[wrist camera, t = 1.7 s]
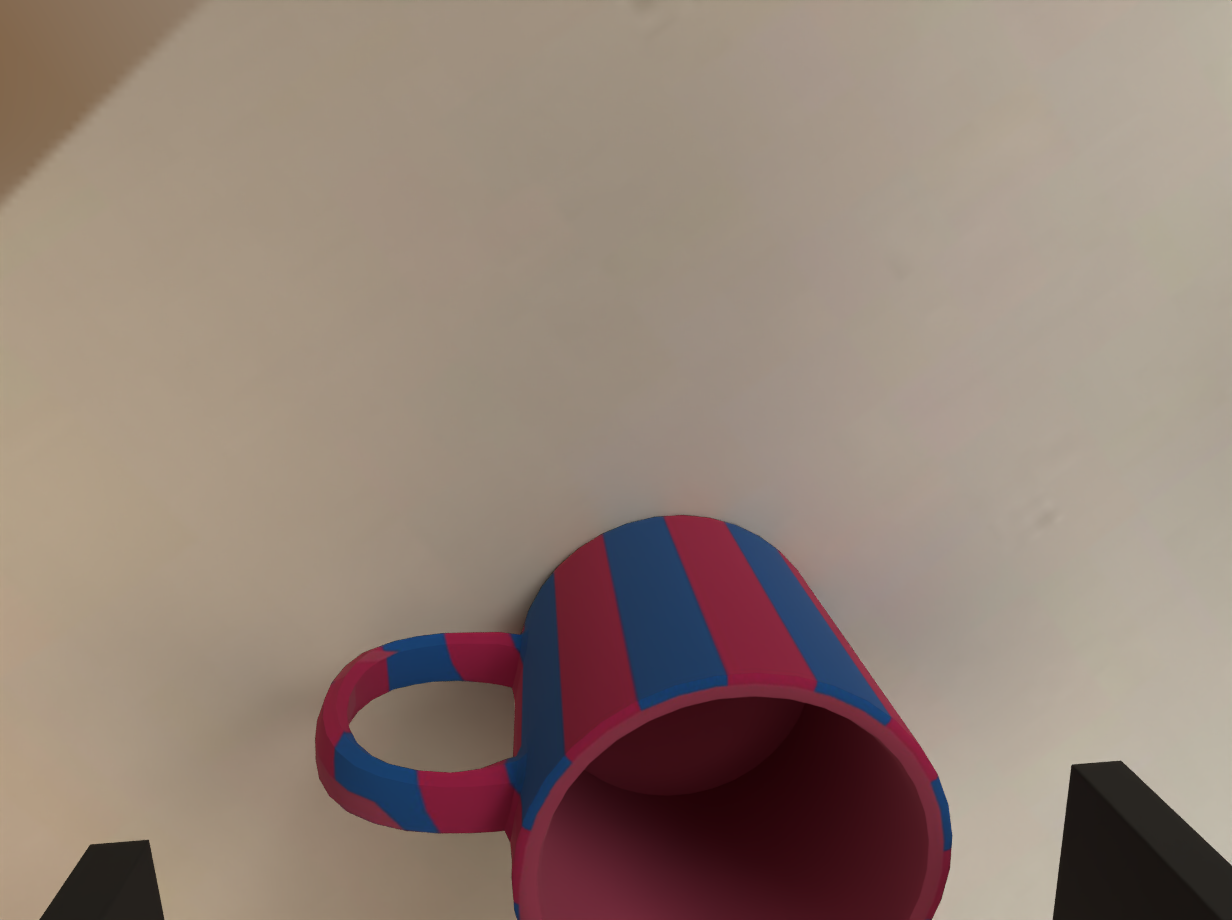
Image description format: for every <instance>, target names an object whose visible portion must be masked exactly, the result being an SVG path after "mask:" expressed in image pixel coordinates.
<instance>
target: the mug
mask: <svg viewBox="0 0 1232 920" xmlns="http://www.w3.org/2000/svg"><path fill="white" fill-rule="evenodd" d="M438 681H469V682H482V683H491V684H497V685H503V686H507V687H511V688H512V690H513V694H514V700H515V718H514V747H513V757H512V758H509V759H505V760H502V761H500V762H497V763H494V764H492V765H489V766H486V767H483V768H481V769H475V770H468V771H462V772H452V773H448V772H433V771H418V770H414V769H409V768H405V767H401V766H396V765H392V764H388V763H386V762H384V761H382V760H380V759H377V758H375V757H373V756H372V755H370V754H369V753H368V752H367V751H366V750H365V749H363V748H362V747H361V746H360V745H359V744H358V743H357V742H356V740H355V738H354V736H353V734H352V732H351V730H350V729H349V724H350V722H351V721H352V719H353V718H354V717H355V715H356V714H357V712H358V711H359V710H361V709H362V708H363V707H364V706H365V705H367V704H368V703H369V702H370V701H371V700H373V699H375V698H377V697H379V696H381V695H383V694H385V693H387V692H389V691H391V690H393V689H397V688H402V687H406V686H410V685H415V684H421V683H428V682H438ZM315 750H316V764H317V769H318V775H319V779H320V781H321V782H322V784H323V786H324V788H325V789H326V791H327V793H328V795H329V796H330V797H331V798H332V799H333V800H334V801H336V802H337V803H338V804H339V805H340V806H341V807H342V808H343V809H345V810H346V811H347V812H349V813H351V814H353V815H356V816H358V817H360V818H363V819H365V820H367V821H369V822H372V823H375V824H378V825H383V826H387V827H391V828H396V829H400V830H405V831H415V832H429V833H481V832H496V831H505V833H506V835H507V837H508V839H509V841H510V844H511V855H512V888H513V900H514V910H515V914H516V917H517V920H932V918H933V916H934V914H935V912H936V910H937V908H938V905H939V903H940V901H941V899H942V895H943V891H944V888H945V884H946V881H947V877H948V873H949V870H950V860H951V847H952V830H951V822H950V814H949V806H948V802H947V800H946V797H945V794H944V791H943V788H942V785H941V783H940V780H939V777H938V774H937V772H936V771H935V769H934V768H933V766H932V764H931V763H930V761H929V759H928V758H927V756H926V754H925V753H924V751H923V750H922V748H921V746H920V745H919V743H918V742H917V741H916V739H915V738H914V736H913V735H912V733H911V732H910V731H909V729H908V728H907V726H906V725H905V723H904V722H903V721H902V719H901V718H900V716H899V715H898V713H897V712H896V711H895V709H894V708H893V706H892V705H891V703H890V702H889V701H888V699H887V698H886V696H885V695H884V693H883V692H882V691H881V689H880V688H879V686H878V685H877V683H876V682H875V681H874V679H873V678H872V676H871V675H870V673H869V672H868V670H867V669H866V668H865V666H864V665H863V663H862V662H861V660H860V659H859V658H858V656H857V655H856V653H855V652H854V650H853V649H852V648H851V646H850V645H849V643H848V642H847V640H846V639H845V638H844V636H843V635H842V633H841V632H840V630H839V629H838V628H837V626H836V625H835V623H834V622H833V620H832V619H831V618H830V616H829V615H828V613H827V612H826V610H825V609H824V608H823V606H822V605H821V603H820V602H819V600H818V599H817V598H816V596H815V595H814V593H813V592H812V590H811V589H810V588H809V586H808V585H807V583H806V582H805V580H804V579H803V578H802V576H801V575H800V573H799V572H798V570H797V569H796V568H795V567H794V566H793V565H792V564H791V563H790V562H789V561H788V560H787V558H786V557H785V556H784V555H783V554H782V553H781V552H780V551H779V550H777V549H776V548H775V547H773V546H772V545H770V544H769V543H768V542H766V541H765V540H764V539H762V538H761V537H760V536H758V535H755V534H753V533H751V532H749V531H747V530H745V529H743V528H741V527H739V526H737V525H734V524H730V523H727V522H723V521H720V520H716V519H712V518H707V517H697V516H687V515H676V516H661V517H652V518H648V519H644V520H639V521H635V522H631V523H627V524H625V525H622V526H620V527H617V528H615V529H613V530H610V531H608V532H605V533H603V534H601V535H599V536H598V537H596V538H594V539H593V540H591V541H590V542H588V543H586V544H585V545H583V546H582V547H580V548H578V549H577V550H576V551H575V552H574V553H573V554H572V555H570V556H569V557H568V558H567V559H566V560H565V561H564V562H563V563H561V564H560V565H559V566H558V567H557V568H556V569H555V571H554V572H553V573H552V575H551V576H550V577H549V578H548V580H547V581H546V582H545V583H544V585H543V586H542V587H541V589H540V590H539V592H538V594H537V596H536V598H535V600H534V602H533V603H532V605H531V607H530V609H529V611H528V614H527V617H526V620H525V623H524V626H523V629H522V633H521V635H519V634H511V633H502V632H473V633H440V634H432V635H423V636H416V637H412V638H407V639H402V640H398V641H394V642H390V643H387V644H385V645H382V646H379V647H377V648H374V649H372V650H369V651H366V652H364V653H362V654H361V655H359V656H358V657H357V658H355V659H354V660H353V661H351V662H350V663H349V664H347V665H346V666H345V667H344V668H343V669H342V671H341V672H340V673H339V674H338V676H337V677H336V678H335V679H334V680H333V682H332V683H331V686H330V688H329V690H328V693H327V695H326V697H325V700H324V702H323V705H322V708H321V711H320V714H319V717H318V719H317V726H316V736H315Z"/></svg>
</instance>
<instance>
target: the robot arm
mask: <svg viewBox="0 0 1232 920" xmlns="http://www.w3.org/2000/svg"><path fill="white" fill-rule="evenodd" d="M40 920H164V915H163V910H162V905H161V900H160V895H159V889H158V884H157V879H156V874H155V869H154V864H153V859H152V853H151V848H150V843H149V840H141V841H128V842H116V843H104V844H92V845H90V846H89V847H88V849H87V850H86V852H85V853H84V855H83V856H82V858H81V859H80V861H79V862H78V864H77V865H76V866H75V868H74V869H73V871H72V872H71V874H70V875H69V877H68V878H67V880H66V881H65V883H64V884H63V886H62V887H61V889H60V890H59V892H58V893H57V895H56V896H55V898H54V899H53V901H52V902H51V904H50V905H49V906H48V908H47V909H46V911H45V912H44V914H43V915H42V917H41V918H40ZM1053 920H1232V865H1231V864H1229V863H1228V862H1227V861H1226V860H1225V859H1224V858H1223V857H1222V856H1221V855H1220V854H1219V853H1218V852H1217V851H1216V850H1215V849H1214V848H1213V847H1212V846H1210V845H1209V844H1208V843H1207V842H1206V841H1205V840H1204V839H1203V838H1202V837H1201V836H1200V835H1199V834H1198V833H1197V832H1196V831H1195V830H1194V829H1193V828H1192V827H1190V826H1189V825H1188V824H1187V823H1186V822H1185V821H1184V820H1183V819H1182V818H1181V817H1180V816H1179V815H1178V814H1177V813H1176V812H1175V811H1174V810H1173V809H1171V808H1170V807H1169V806H1168V805H1167V804H1166V803H1165V802H1164V801H1163V800H1162V799H1161V798H1160V797H1159V796H1158V795H1157V794H1156V793H1155V792H1154V791H1153V790H1151V789H1150V788H1149V787H1148V786H1147V785H1146V784H1145V783H1144V782H1143V781H1142V780H1141V779H1140V778H1139V777H1138V776H1137V775H1136V774H1135V773H1134V772H1132V771H1131V770H1130V769H1129V768H1128V767H1127V766H1126V765H1125V764H1124V763H1123V762H1122V761H1111V762H1099V763H1087V764H1074V765H1072V766H1071V774H1070V782H1069V790H1068V799H1067V807H1066V815H1065V823H1064V831H1063V840H1062V848H1061V856H1060V864H1059V872H1058V881H1057V889H1056V897H1055V905H1054V913H1053Z"/></svg>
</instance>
